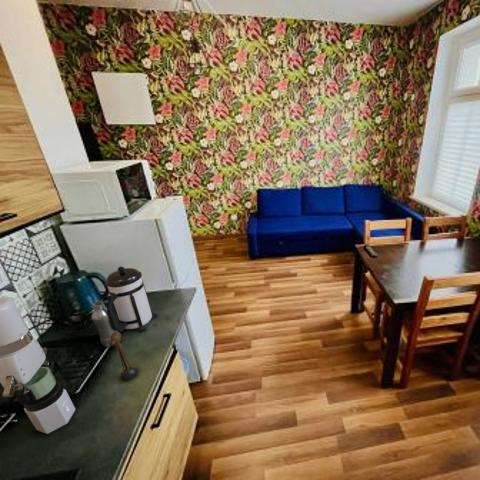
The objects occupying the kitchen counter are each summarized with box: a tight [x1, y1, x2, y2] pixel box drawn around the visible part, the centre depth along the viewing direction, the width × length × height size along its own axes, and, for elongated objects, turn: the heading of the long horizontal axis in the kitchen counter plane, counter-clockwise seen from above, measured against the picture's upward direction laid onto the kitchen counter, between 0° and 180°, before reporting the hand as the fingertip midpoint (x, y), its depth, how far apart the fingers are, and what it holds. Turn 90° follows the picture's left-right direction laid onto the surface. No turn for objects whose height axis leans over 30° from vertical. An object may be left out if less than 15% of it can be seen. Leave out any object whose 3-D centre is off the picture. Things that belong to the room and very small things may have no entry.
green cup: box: [17, 367, 57, 400], centre depth 77 cm, size 7×7×6 cm
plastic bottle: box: [91, 300, 119, 348], centre depth 108 cm, size 6×7×20 cm
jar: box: [22, 380, 76, 435], centre depth 80 cm, size 9×8×12 cm
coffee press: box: [104, 266, 157, 333], centre depth 116 cm, size 17×16×30 cm
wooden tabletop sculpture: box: [110, 331, 138, 382], centre depth 93 cm, size 6×5×20 cm
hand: (38, 388), depth 77 cm, fingers closed on green cup, 7 cm apart
